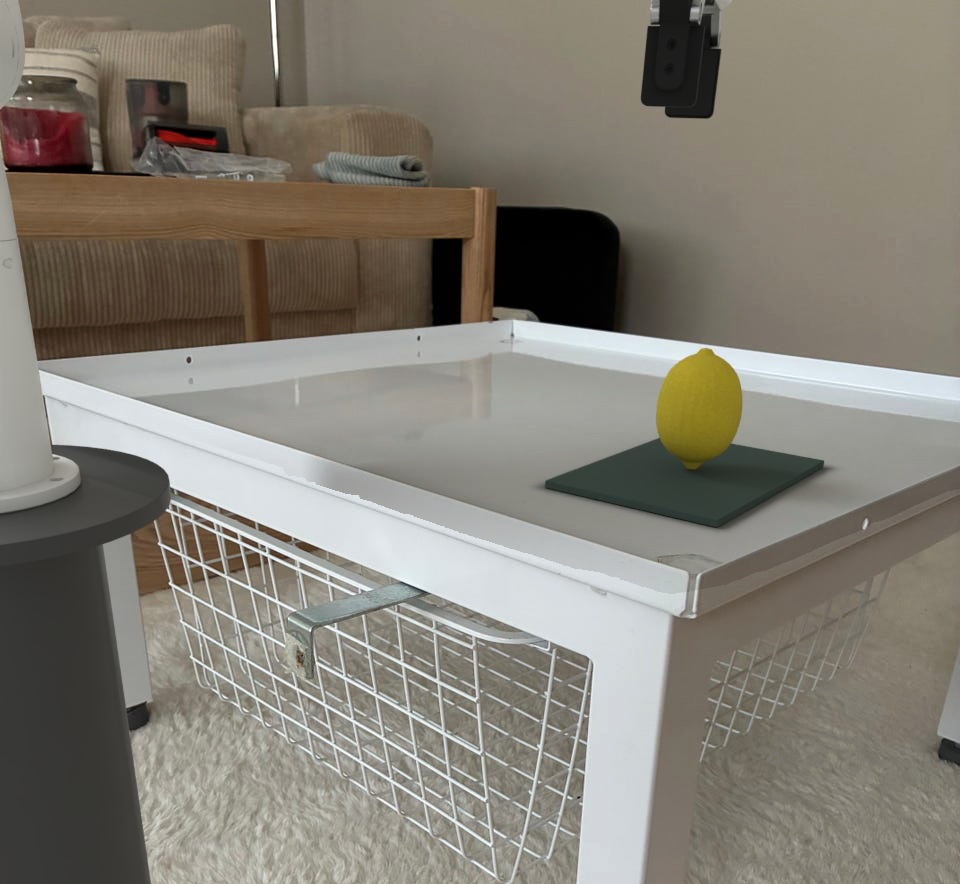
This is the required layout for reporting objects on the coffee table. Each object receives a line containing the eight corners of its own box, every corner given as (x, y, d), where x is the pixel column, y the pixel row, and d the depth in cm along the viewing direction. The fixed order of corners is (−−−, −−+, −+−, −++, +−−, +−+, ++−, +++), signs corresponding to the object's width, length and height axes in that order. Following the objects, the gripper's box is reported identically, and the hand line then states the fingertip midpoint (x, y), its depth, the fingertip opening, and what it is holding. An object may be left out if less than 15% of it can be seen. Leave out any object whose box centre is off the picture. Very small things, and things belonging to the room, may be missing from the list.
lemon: (732, 484, 63) (750, 357, 60) (646, 476, 65) (659, 351, 61) (733, 463, 68) (750, 344, 65) (653, 456, 69) (666, 339, 66)
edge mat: (717, 527, 57) (718, 519, 57) (544, 487, 63) (545, 480, 63) (823, 467, 70) (824, 460, 70) (671, 439, 76) (672, 432, 76)
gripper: (671, -182, 63) (641, 120, 70) (622, -300, 48) (591, 99, 55) (792, -188, 61) (749, 123, 68) (781, -314, 46) (727, 102, 53)
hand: (678, 112), depth 62 cm, fingers open, 9 cm apart
